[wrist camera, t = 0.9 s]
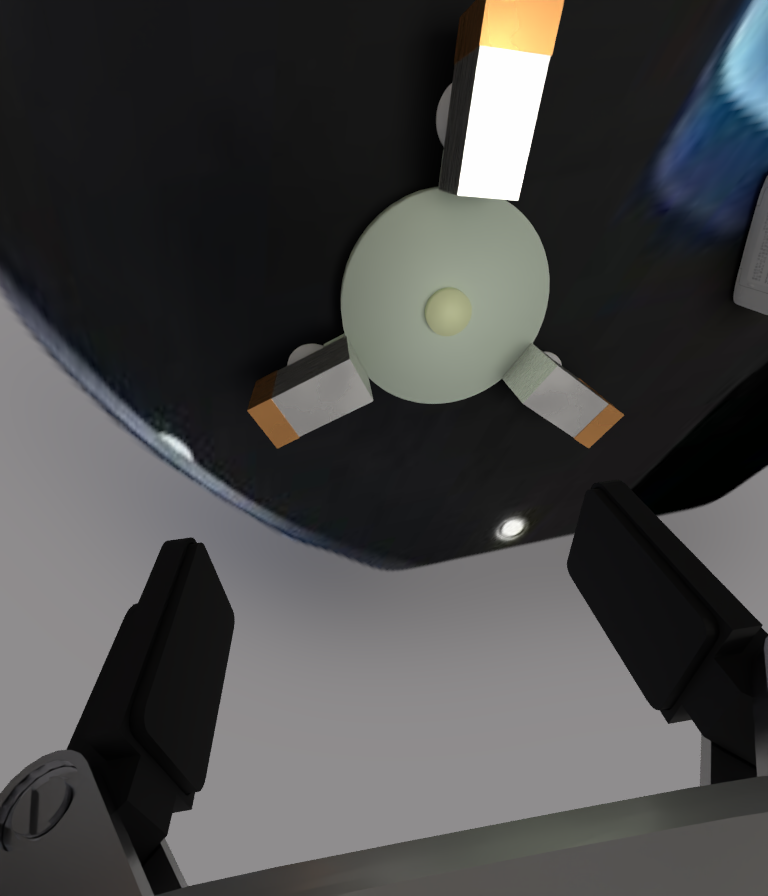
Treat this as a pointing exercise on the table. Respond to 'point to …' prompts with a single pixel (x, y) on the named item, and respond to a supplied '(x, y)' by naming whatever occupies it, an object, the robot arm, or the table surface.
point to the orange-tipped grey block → (560, 396)
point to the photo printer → (755, 260)
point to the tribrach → (442, 292)
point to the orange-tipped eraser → (310, 392)
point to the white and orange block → (496, 95)
